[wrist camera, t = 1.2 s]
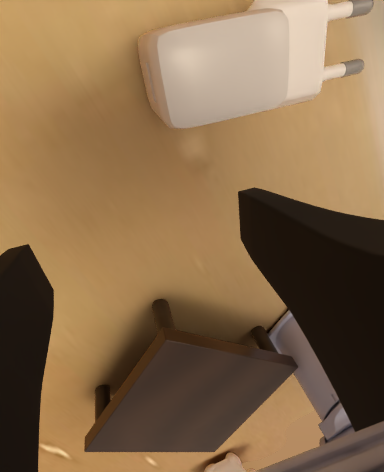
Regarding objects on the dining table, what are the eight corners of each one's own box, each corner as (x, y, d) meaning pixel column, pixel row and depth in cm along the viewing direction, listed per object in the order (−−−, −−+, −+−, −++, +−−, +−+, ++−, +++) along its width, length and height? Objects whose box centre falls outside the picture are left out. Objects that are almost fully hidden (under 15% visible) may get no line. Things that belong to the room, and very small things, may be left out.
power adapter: (329, -15, 17) (423, -39, 12) (321, 82, 19) (395, 95, 15) (128, 21, 15) (143, 11, 10) (150, 121, 18) (171, 150, 13)
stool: (272, 325, 31) (299, 367, 27) (201, 406, 36) (214, 452, 32) (154, 291, 25) (166, 340, 21) (85, 395, 30) (84, 452, 25)
